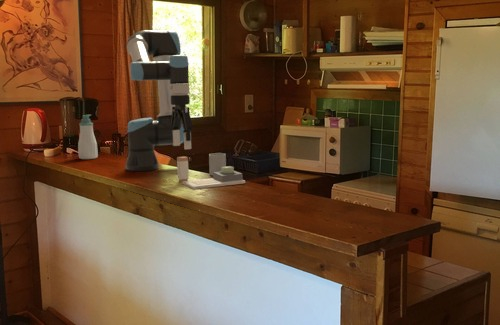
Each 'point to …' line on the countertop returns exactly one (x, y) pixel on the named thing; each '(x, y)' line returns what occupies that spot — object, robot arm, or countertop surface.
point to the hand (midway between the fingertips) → (182, 147)
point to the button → (227, 170)
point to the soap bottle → (87, 140)
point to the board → (216, 180)
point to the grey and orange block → (182, 168)
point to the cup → (216, 162)
